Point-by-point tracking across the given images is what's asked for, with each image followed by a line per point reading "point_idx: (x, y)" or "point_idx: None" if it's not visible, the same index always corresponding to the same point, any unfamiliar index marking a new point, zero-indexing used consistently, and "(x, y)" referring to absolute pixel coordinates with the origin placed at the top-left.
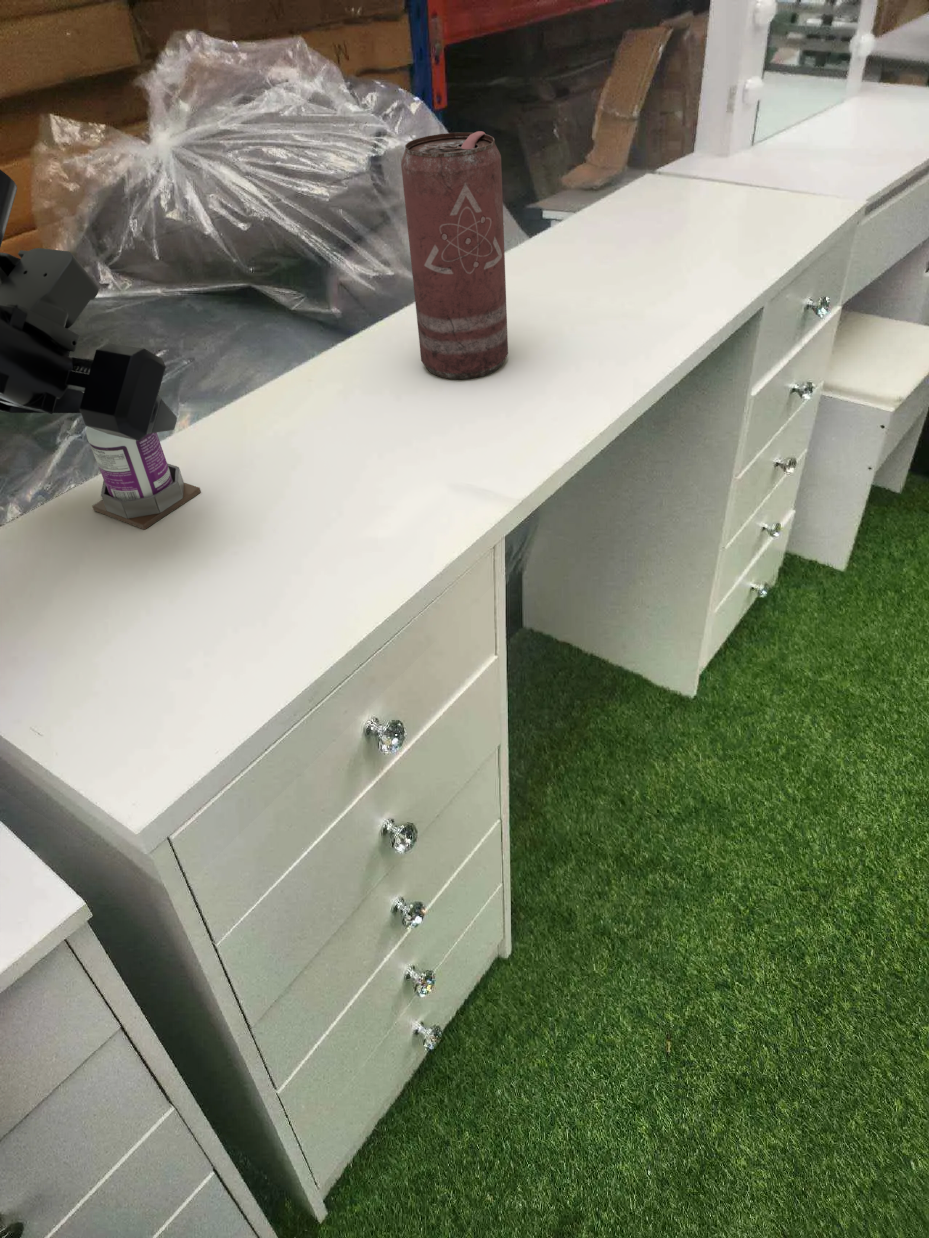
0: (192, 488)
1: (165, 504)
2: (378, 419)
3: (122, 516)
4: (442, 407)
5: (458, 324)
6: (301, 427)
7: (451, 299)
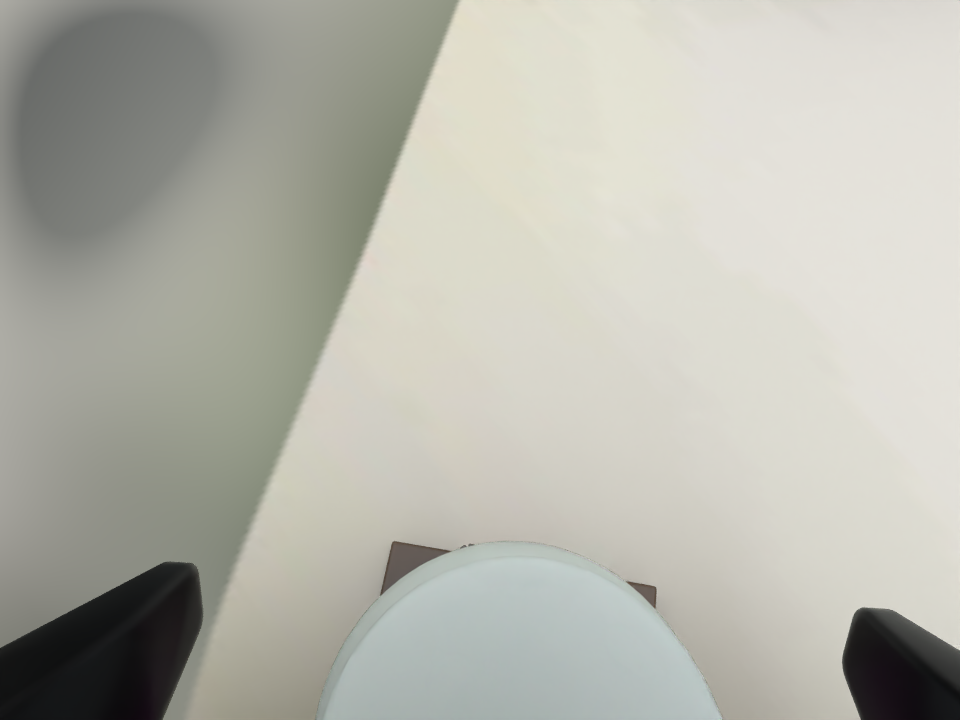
0: None
1: None
2: (849, 105)
3: None
4: (954, 30)
5: None
6: (677, 181)
7: None
